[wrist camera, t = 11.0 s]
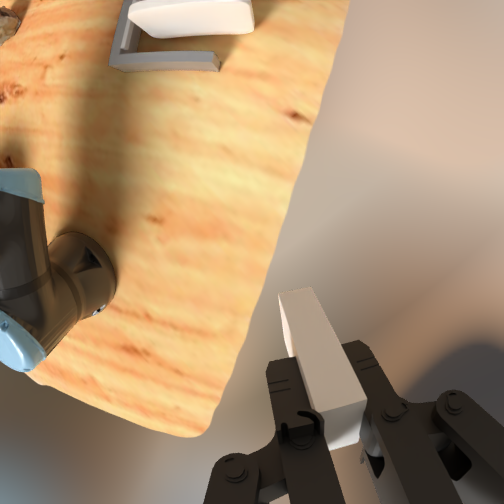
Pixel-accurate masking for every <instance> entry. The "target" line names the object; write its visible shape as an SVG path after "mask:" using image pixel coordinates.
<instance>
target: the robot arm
mask: <svg viewBox="0 0 504 504" xmlns="http://www.w3.org/2000/svg"><path fill="white" fill-rule="evenodd" d="M44 204H45V202H44V200H43V195H42V184H41V177H40V175H39V173H38V172H37V171H36V170H35V169H32V168H0V361H2V362H3V363H4V364H6V365H7V366H9V367H10V368H12V369H14V370H17V371H20V372H29V371H31V370H33V369H34V368H35V367H36V366H37V365H38V364H39V363H40V362H41V361H44V360H45V359H46V357H47V356H48V355H49V354H50V352H51V351H52V350H53V349H54V348H55V347H56V345H57V344H58V343H59V342H60V341H61V340H62V339H63V337H64V336H65V335H66V334H67V333H68V332H69V331H70V330H71V328H72V327H73V326H74V325H75V324H76V323H77V322H78V321H81V320H83V319H86V318H88V317H91V316H94V315H96V314H98V313H100V312H101V311H103V310H104V309H105V308H106V306H107V305H108V304H109V303H110V302H111V300H112V299H113V296H114V293H115V288H116V280H115V274H114V270H113V267H112V264H111V262H110V260H109V258H108V256H107V254H106V253H105V251H104V250H103V249H102V248H101V247H100V245H99V244H98V243H97V242H95V241H94V240H93V239H91V238H90V237H88V236H86V235H84V234H82V233H78V232H68V233H65V234H63V235H61V236H59V237H57V238H55V239H54V240H53V241H52V242H51V243H50V244H49V245H48V246H47V238H46V230H45V220H44V209H43V205H44ZM278 296H279V303H280V310H281V318H282V326H283V333H284V340H285V343H286V347H287V350H288V354H289V358H284V359H280V360H275V361H270V362H269V364H268V367H267V370H266V377H267V383H268V388H269V393H270V399H271V404H272V410H273V415H274V420H275V425H276V431H275V435H274V437H273V439H272V440H271V442H270V443H269V444H268V445H267V446H265V447H263V448H262V449H260V450H258V451H256V452H253V453H251V454H249V455H245V454H242V453H232V454H229V455H226V456H223V457H222V458H220V459H219V460H218V461H217V462H216V463H215V465H214V467H213V469H212V473H211V476H210V481H209V484H208V488H207V492H206V495H205V499H204V503H203V504H269V502H271V501H273V500H275V499H277V498H279V497H281V496H283V495H285V494H287V493H288V494H289V499H290V504H346V503H345V500H344V497H343V494H342V490H341V487H340V484H339V481H338V477H337V474H336V471H335V468H334V464H333V461H332V458H331V455H330V452H329V450H333V449H336V448H340V447H344V446H347V445H350V444H354V443H357V442H358V440H359V436H360V438H361V440H362V443H363V445H364V446H363V450H362V453H361V456H360V464H362V463H363V462H364V460H365V462H366V465H367V467H368V470H369V473H370V475H371V478H372V480H373V483H374V486H375V489H376V492H377V494H378V497H379V500H380V503H381V504H463V503H464V504H504V427H503V426H502V425H501V424H499V423H498V422H497V421H496V420H495V419H494V418H493V417H492V416H490V414H488V413H487V412H486V411H485V410H484V409H483V408H482V407H480V406H479V405H478V404H477V403H476V402H475V401H474V400H473V399H471V398H470V397H469V396H468V395H467V394H465V393H463V392H462V391H458V390H449V391H446V392H444V393H442V394H441V395H440V396H439V398H438V399H437V401H434V402H426V403H410V402H408V401H407V400H405V399H403V398H401V397H399V396H398V395H397V394H396V392H395V391H394V389H393V387H392V385H391V384H390V382H389V380H388V378H387V377H386V375H385V374H384V372H383V370H382V368H381V366H379V363H378V361H377V360H376V358H375V357H374V355H373V353H372V351H371V350H370V349H369V347H368V346H367V345H366V344H364V343H363V342H361V341H360V340H357V341H353V342H349V343H345V344H340V342H339V340H338V338H337V336H336V334H335V332H334V330H333V328H332V326H331V324H330V322H329V320H328V319H327V317H326V315H325V313H324V311H323V309H322V307H321V305H320V303H319V301H318V299H317V297H316V295H315V294H314V292H313V290H312V288H311V287H306V288H302V289H297V290H292V291H287V292H282V293H278ZM462 502H463V503H462Z"/></svg>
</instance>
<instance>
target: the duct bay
mask: <svg viewBox="0 0 504 504" xmlns="http://www.w3.org/2000/svg"><path fill="white" fill-rule="evenodd" d="M139 1H143V0H124V2H123V5H122V9H121V12H120V16H119V20H118V23H117V27H116V31H115V35H114V40H113V44H112V48H111V53H110V58H109V63H108V66H110V67H113V68H115V69H118V70H120V71H123V72H134V71H157V70H194V71H217V72H219V69H220V63H221V62H220V60H219V59H218V57H217V55H216V54H215V52H214V51H160V52H142V53H137V48H138V43H139V39H140V34H141V30H142V28H140V27H139V26H138V25H136V24H135V23H134V22H132V21H131V20H130V19H129V18H128V11H129V7H130V6H131V5H132V4H134V3H136V2H139Z"/></svg>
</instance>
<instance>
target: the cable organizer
mask: <svg viewBox="0 0 504 504" xmlns="http://www.w3.org/2000/svg"><path fill="white" fill-rule="evenodd" d="M128 18H129V19H130V20H131V21H132V22H134V23H135V24H136V25H138V26H139V27H140V28H142V29H143V30H144V31H145V32H147V33H148V34H149V35H150V36H152V37H154V38H176V37H187V36H200V35H223V34H247V33H251V32H253V31H254V24H255V21H254V15H253V9H252V3H251V0H143V1H139V2H136V3H134V4H132V5H131V6H130V7H129V11H128Z"/></svg>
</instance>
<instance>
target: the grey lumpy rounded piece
mask: <svg viewBox="0 0 504 504" xmlns="http://www.w3.org/2000/svg"><path fill="white" fill-rule="evenodd" d="M20 23H21V21H20V20H19V19H18V16H16V14H15V13H14V12H13V11H11V10H10V9H7V8H5V6H3V7H0V46H2V45H3V43H4V42H5V41H6V40H7V39H9V38H10V37H12V36H13V35H14V34H15V32H16V30H17V28H18V27H19V25H20Z"/></svg>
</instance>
